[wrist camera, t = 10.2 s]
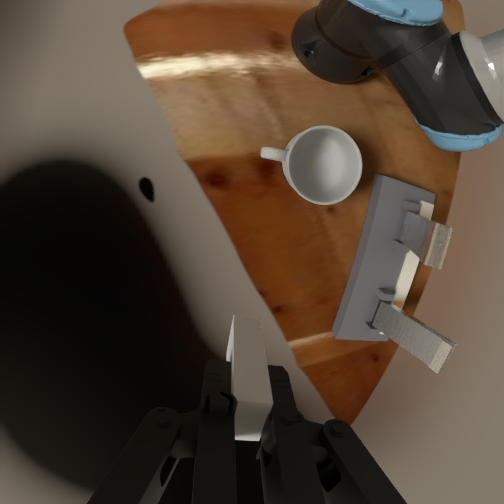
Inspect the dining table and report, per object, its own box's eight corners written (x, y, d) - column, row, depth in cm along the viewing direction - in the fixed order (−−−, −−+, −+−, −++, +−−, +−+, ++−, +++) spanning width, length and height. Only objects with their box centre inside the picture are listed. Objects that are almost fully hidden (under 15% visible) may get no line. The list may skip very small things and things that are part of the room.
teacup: (351, 148, 42) (373, 146, 34) (328, 208, 45) (346, 217, 37) (273, 113, 40) (281, 102, 32) (248, 176, 43) (251, 178, 35)
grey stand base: (375, 174, 43) (391, 176, 38) (426, 192, 45) (444, 196, 39) (331, 330, 52) (340, 346, 47) (381, 333, 53) (392, 347, 48)
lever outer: (376, 298, 46) (452, 346, 32) (384, 297, 47) (456, 343, 33) (367, 323, 47) (437, 373, 33) (375, 321, 48) (443, 368, 34)
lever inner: (403, 209, 42) (436, 222, 26) (415, 213, 42) (452, 228, 26) (395, 238, 43) (424, 264, 28) (408, 241, 43) (440, 269, 27)
